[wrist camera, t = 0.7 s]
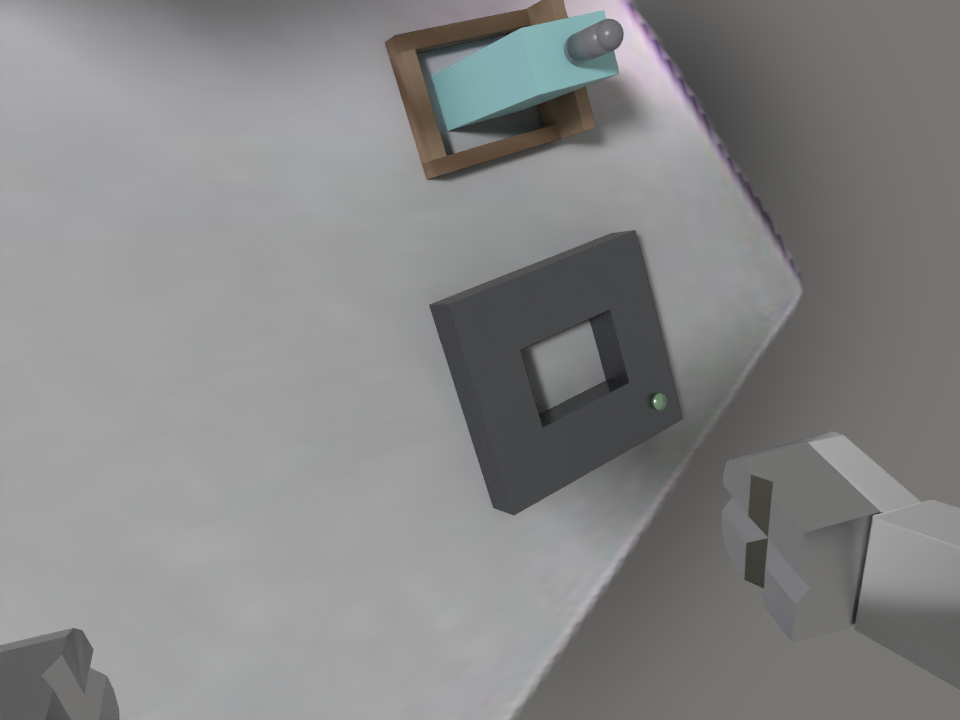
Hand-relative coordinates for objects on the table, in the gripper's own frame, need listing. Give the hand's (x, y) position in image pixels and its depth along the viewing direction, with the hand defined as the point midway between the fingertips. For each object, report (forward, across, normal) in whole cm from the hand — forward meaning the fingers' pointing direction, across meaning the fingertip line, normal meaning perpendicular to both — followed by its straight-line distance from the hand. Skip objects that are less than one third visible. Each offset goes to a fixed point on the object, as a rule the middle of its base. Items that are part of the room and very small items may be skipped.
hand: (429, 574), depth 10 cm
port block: (+40, -13, +22) cm, 48 cm away
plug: (+46, -11, +4) cm, 48 cm away
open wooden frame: (+46, -11, +4) cm, 47 cm away
